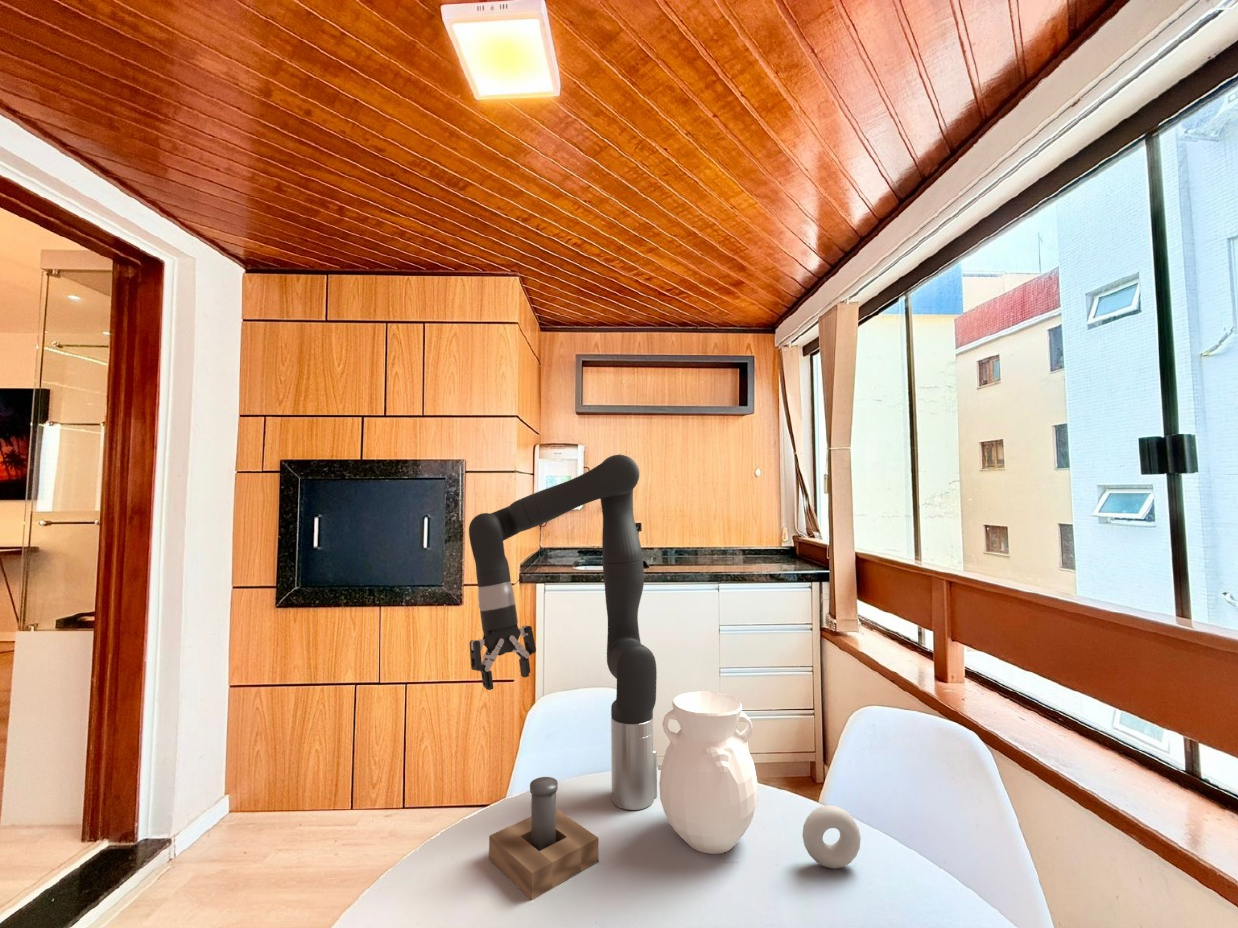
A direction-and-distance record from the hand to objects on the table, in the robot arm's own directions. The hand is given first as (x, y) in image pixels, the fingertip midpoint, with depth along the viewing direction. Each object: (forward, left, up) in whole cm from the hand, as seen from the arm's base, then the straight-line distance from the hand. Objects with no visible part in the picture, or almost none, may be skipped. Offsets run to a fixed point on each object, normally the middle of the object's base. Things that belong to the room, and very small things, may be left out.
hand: (508, 682), depth 112 cm
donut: (-33, +53, -27) cm, 68 cm away
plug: (+3, +17, -26) cm, 32 cm away
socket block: (+3, +17, -26) cm, 32 cm away
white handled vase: (-24, +33, -27) cm, 49 cm away
